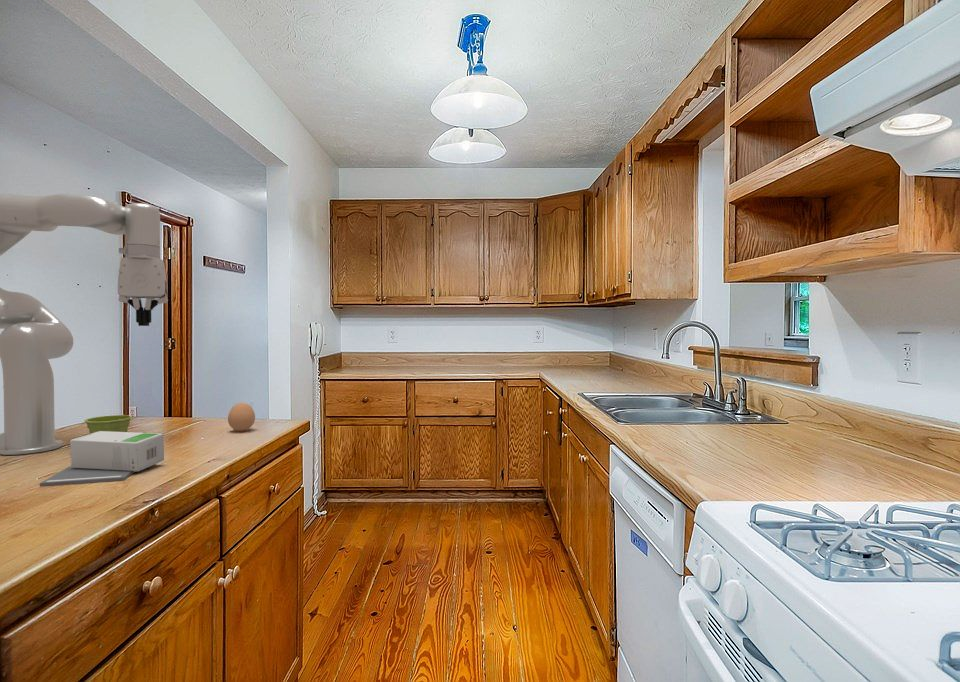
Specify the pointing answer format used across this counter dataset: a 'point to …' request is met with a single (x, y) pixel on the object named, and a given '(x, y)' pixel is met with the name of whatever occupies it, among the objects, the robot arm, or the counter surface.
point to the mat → (85, 476)
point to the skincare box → (117, 450)
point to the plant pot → (108, 423)
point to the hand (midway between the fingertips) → (143, 325)
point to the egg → (241, 417)
